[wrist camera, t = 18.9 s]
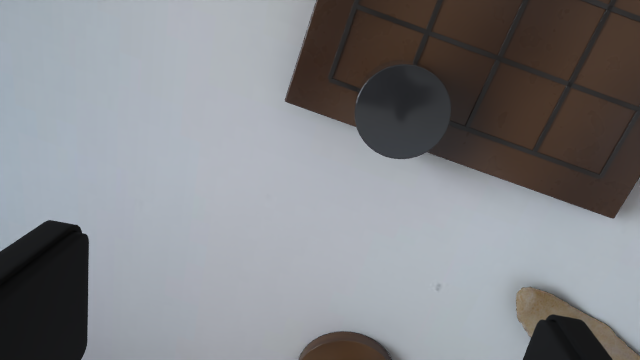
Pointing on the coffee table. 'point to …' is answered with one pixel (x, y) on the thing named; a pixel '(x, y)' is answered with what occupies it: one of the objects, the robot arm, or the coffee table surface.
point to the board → (499, 84)
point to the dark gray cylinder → (402, 109)
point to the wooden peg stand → (344, 348)
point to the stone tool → (543, 304)
